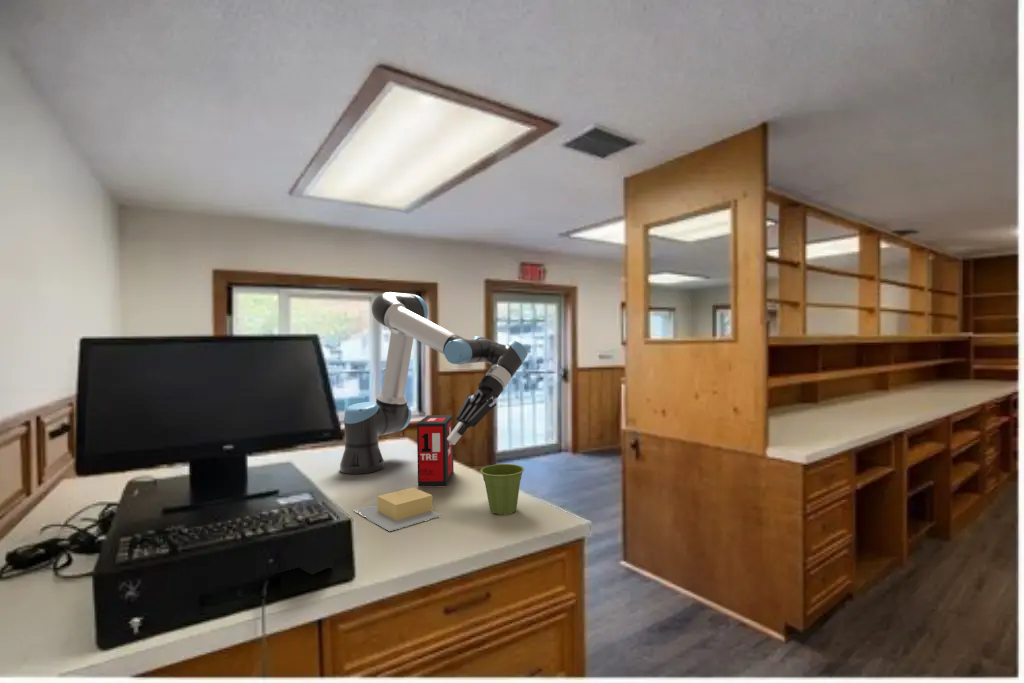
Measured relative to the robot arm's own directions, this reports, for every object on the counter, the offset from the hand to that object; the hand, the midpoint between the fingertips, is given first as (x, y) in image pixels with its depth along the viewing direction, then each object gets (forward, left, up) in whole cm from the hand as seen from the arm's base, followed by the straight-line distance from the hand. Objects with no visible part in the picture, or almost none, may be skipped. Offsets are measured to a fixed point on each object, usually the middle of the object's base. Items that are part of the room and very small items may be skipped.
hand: (450, 442), depth 146 cm
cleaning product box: (-18, +7, -16) cm, 26 cm away
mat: (+2, -19, -16) cm, 25 cm away
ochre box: (+2, -11, -14) cm, 18 cm away
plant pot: (+20, +3, -16) cm, 26 cm away
